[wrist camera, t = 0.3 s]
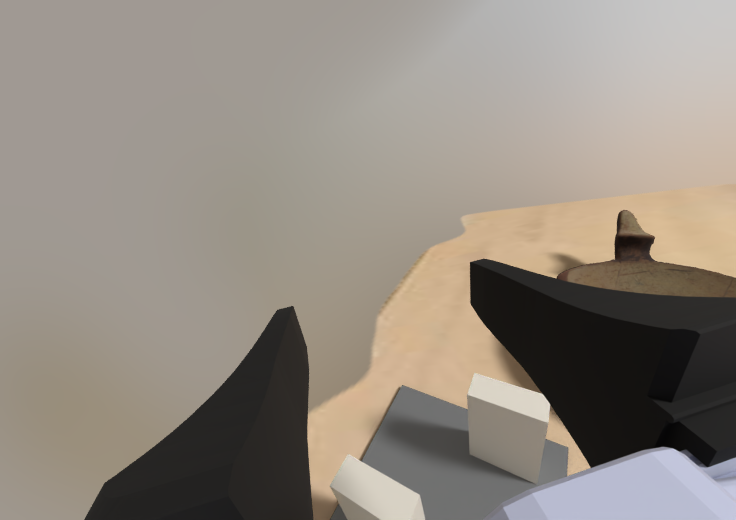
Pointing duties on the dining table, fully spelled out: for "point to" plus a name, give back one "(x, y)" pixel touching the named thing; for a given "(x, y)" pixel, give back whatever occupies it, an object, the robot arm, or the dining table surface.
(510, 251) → the dining table surface
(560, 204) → the dining table surface
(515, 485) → the mat
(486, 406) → the domino
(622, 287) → the oil lamp
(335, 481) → the domino
